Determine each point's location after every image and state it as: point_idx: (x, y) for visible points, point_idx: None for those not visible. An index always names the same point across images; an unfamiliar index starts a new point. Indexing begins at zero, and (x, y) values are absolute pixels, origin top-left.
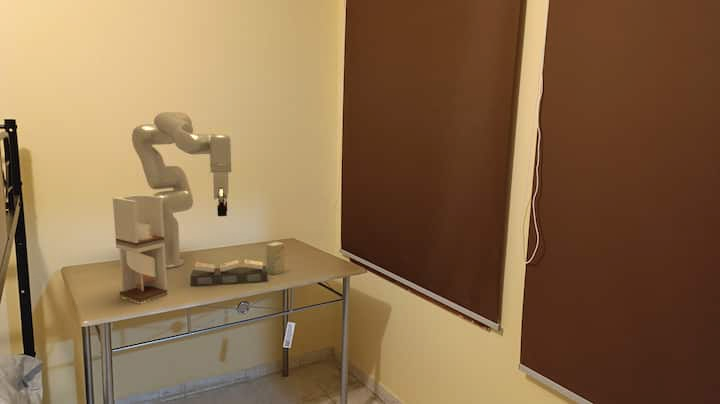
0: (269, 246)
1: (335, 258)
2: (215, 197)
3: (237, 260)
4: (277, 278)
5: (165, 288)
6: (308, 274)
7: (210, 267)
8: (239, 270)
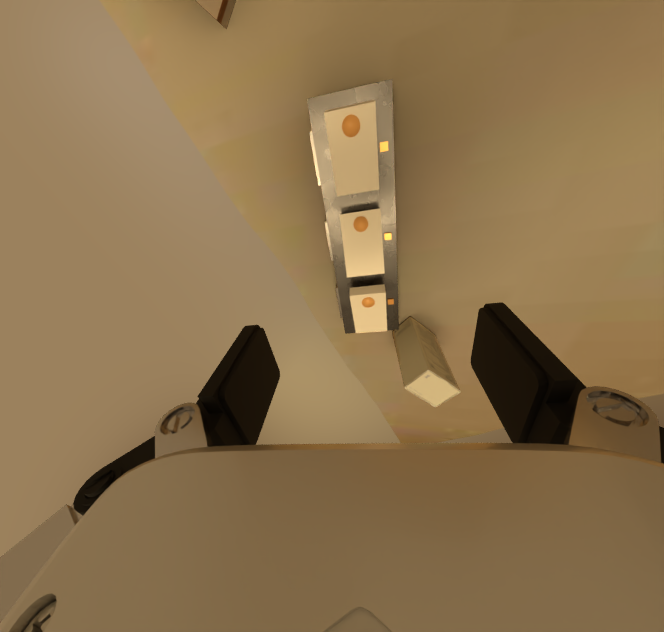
0: (417, 373)
1: (486, 431)
2: (101, 507)
3: (380, 271)
4: (367, 337)
5: (207, 11)
6: (386, 386)
7: (336, 180)
8: None
